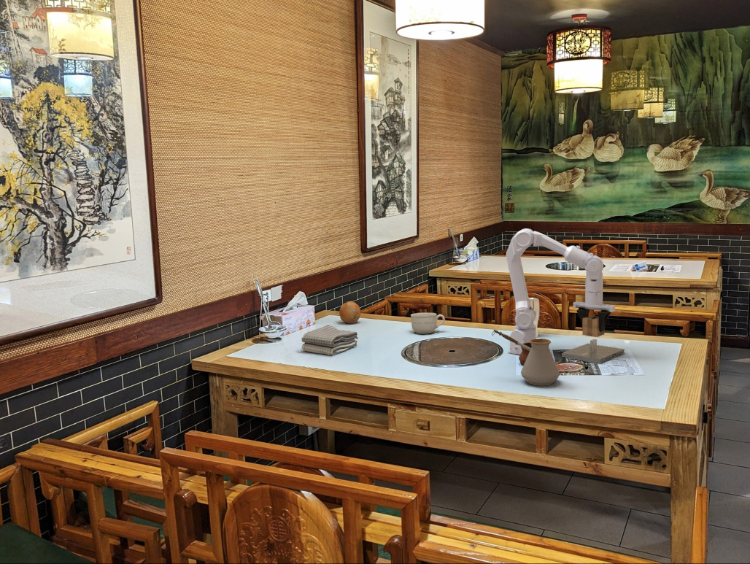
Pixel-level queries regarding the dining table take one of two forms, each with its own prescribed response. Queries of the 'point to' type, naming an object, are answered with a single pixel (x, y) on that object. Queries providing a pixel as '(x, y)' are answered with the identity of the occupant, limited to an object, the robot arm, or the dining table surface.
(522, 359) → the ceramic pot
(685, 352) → the dining table surface
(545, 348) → the coffee pot
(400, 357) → the dining table surface
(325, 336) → the towel
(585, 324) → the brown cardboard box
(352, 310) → the onion
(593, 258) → the robot arm
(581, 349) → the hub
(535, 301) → the beer glass
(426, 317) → the teacup
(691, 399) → the dining table surface
